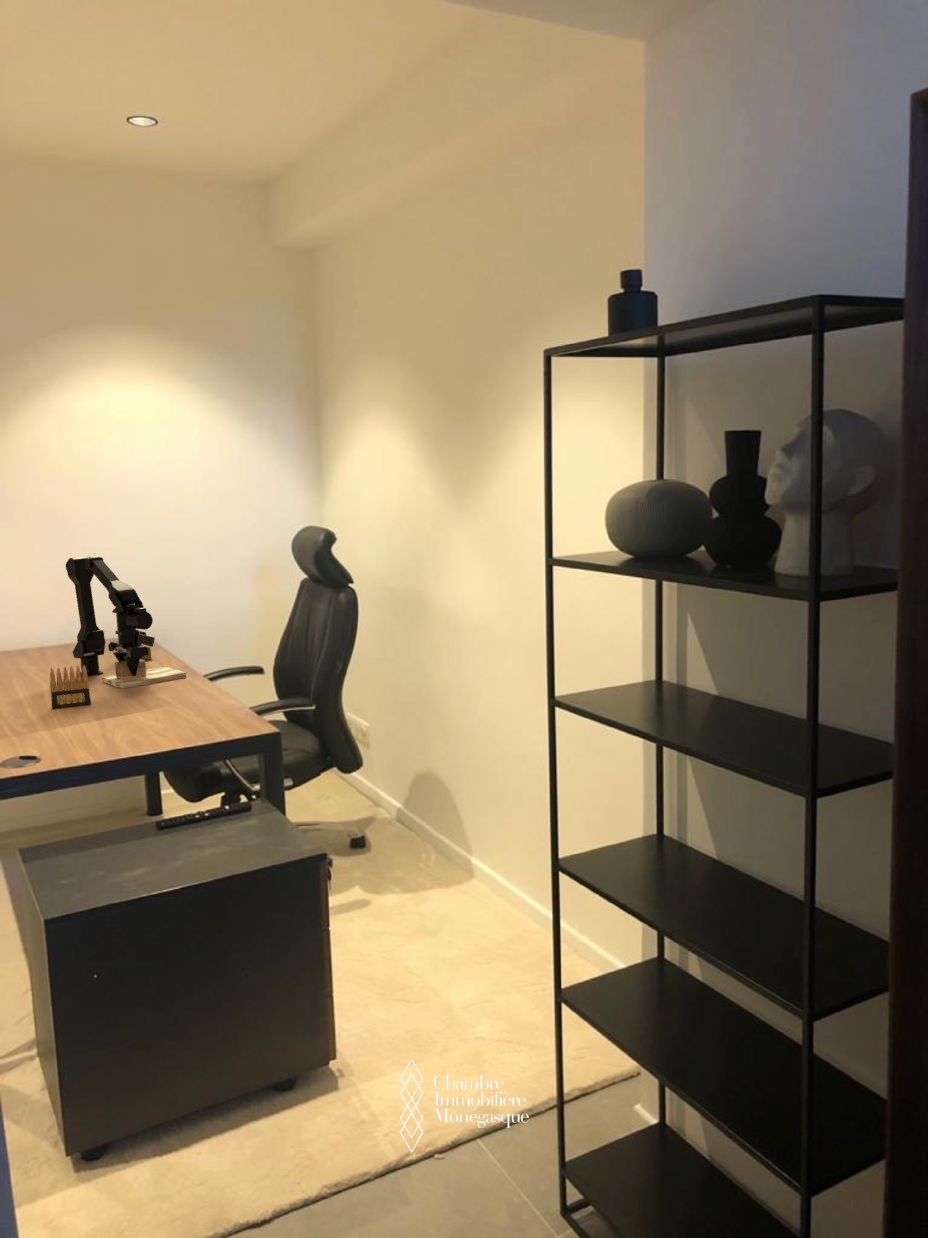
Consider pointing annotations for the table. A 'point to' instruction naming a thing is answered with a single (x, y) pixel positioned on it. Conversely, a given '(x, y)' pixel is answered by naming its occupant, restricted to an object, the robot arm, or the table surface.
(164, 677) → the pine board
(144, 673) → the block
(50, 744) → the table surface
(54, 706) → the ammunition clip
